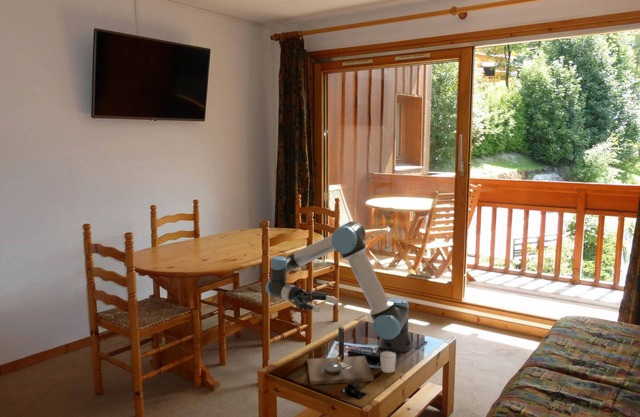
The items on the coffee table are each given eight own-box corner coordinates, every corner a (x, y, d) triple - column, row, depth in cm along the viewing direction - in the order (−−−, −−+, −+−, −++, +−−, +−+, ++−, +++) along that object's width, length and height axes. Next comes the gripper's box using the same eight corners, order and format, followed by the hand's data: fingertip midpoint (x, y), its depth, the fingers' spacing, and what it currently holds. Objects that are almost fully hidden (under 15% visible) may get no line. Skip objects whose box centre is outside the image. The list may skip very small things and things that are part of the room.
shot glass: (376, 367, 211) (376, 352, 210) (390, 364, 213) (390, 349, 212) (385, 374, 204) (385, 359, 203) (399, 371, 207) (399, 356, 206)
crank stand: (364, 359, 219) (364, 355, 219) (373, 380, 199) (373, 376, 199) (307, 362, 217) (307, 358, 216) (310, 384, 197) (310, 380, 197)
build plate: (334, 393, 191) (334, 382, 190) (344, 386, 197) (344, 375, 196) (362, 403, 184) (361, 391, 183) (371, 395, 189) (371, 383, 189)
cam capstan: (338, 375, 200) (338, 343, 198) (322, 372, 202) (321, 340, 200) (349, 358, 216) (349, 328, 214) (334, 356, 218) (334, 326, 216)
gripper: (309, 295, 241) (344, 306, 228) (274, 308, 221) (310, 321, 208) (310, 280, 239) (345, 291, 226) (275, 292, 220) (311, 304, 207)
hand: (328, 305), depth 217 cm, fingers open, 13 cm apart
